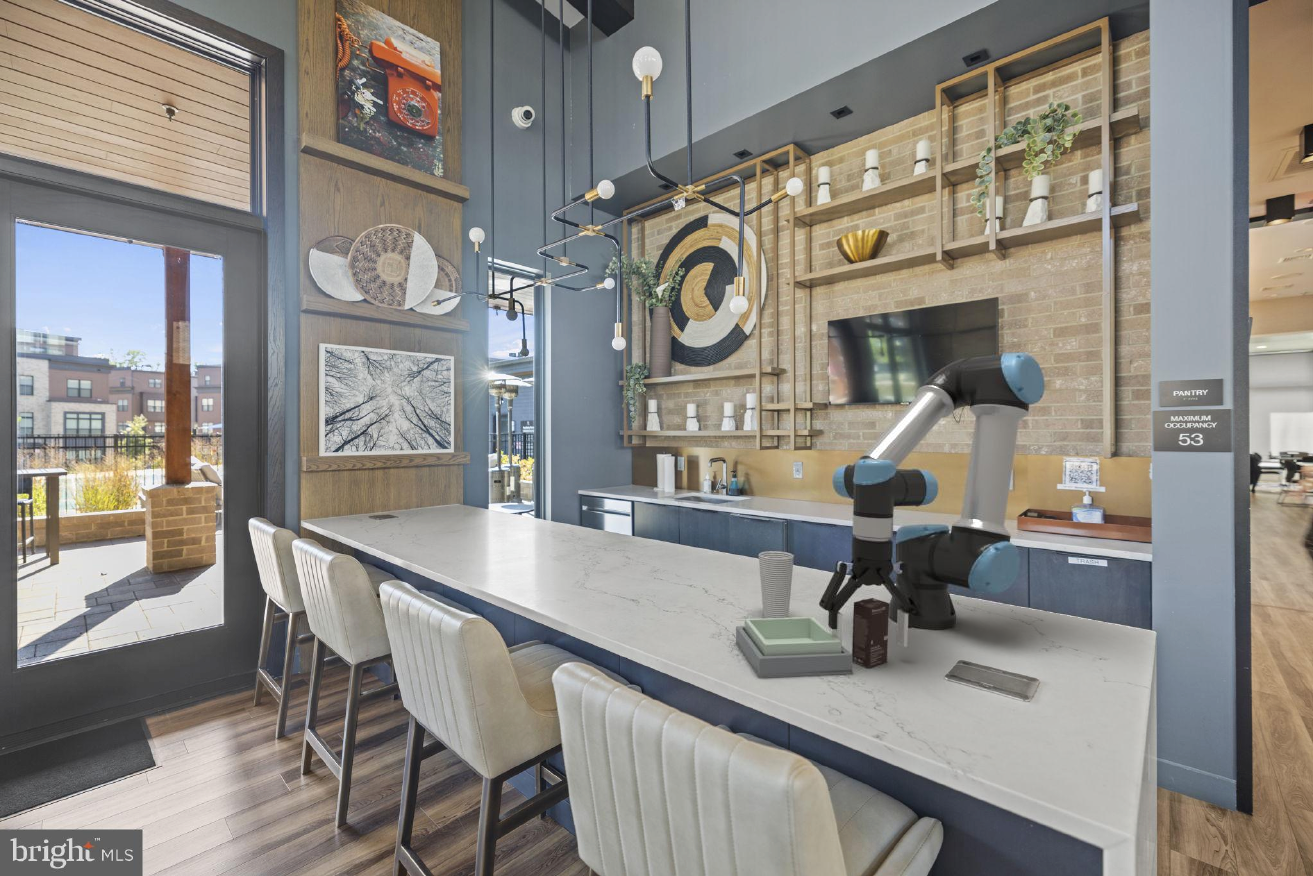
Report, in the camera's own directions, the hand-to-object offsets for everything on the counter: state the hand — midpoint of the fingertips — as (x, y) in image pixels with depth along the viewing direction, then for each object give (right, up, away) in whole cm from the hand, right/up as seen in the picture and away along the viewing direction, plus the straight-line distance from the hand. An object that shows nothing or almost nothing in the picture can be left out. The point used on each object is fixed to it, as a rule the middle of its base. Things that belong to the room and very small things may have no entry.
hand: (869, 645), depth 114 cm
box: (0, -4, +1) cm, 4 cm away
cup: (-13, -4, +28) cm, 31 cm away
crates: (-15, -4, +3) cm, 16 cm away
